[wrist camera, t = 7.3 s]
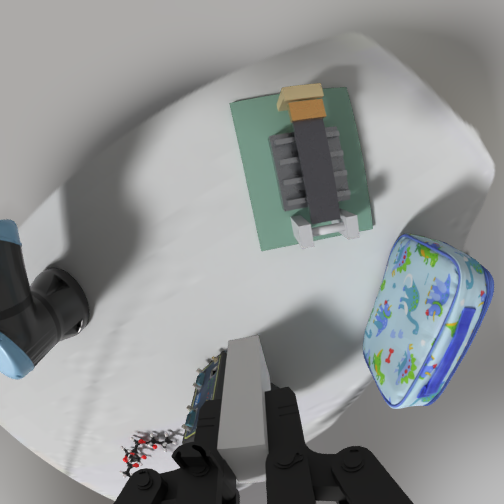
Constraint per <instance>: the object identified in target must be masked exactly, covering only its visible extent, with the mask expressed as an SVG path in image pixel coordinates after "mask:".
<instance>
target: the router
mask: <svg viewBox="0 0 504 504" xmlns="http://www.w3.org/2000/svg"><path fill="white" fill-rule="evenodd" d="M212 359H213V361H212V362H211V363H210V364H209V365H208V366H206V367H205V368H204V369H203V370H201V369H199V368H198V369H197V372H198V373H199V375H198V376H197V380H196V383H194V384H193V386H194V387H195V392H194V396H193V400H192V404H191V406H190V405H188V406H187V409H188V410H189V411H190V412H189V414H188V415H187V419H186V423H185V424H183V425H182V428H184V429H185V433H184V437H183V441H182V443H183V444H185V443H189V442H194V437H195V432H196V428H197V421H198V415H199V410H200V408H201V407H202V405H203V404H204V402H205V401H207V400H216V399H222V396H223V386H224V377H225V368H226V359H227V353H225V352H224V351H223V352H222V353H221V354H220V355H219V356H217V357H214V356H213V357H212ZM270 386H271V390H275V389H280V388H278V387H277V386H275V385H274V384H272V383H270Z"/></svg>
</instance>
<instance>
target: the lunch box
mask: <svg viewBox="0 0 504 504" xmlns="http://www.w3.org/2000/svg"><path fill="white" fill-rule="evenodd" d="M493 292H494V280H493V278H492V276H491V274H490V272H489V271H488V270H487V269H485V268H484V267H483V266H482V265H481V264H479V262H477V261H476V260H475V259H473V258H472V257H470V256H469V255H467V254H465V253H464V252H462V251H460V250H458V249H456V248H454V247H452V246H450V245H449V244H447V243H445V242H441V241H438V240H434V239H429V238H426V237H423V236H417V235H413V234H403V235H401V236H400V237H399V238H398V240H397V241H396V242H395V244H394V246H393V248H392V250H391V252H390V256H389V259H388V263H387V267H386V270H385V274H384V278H383V281H382V284H381V288H380V291H379V294H378V296H377V298H376V301H375V305H374V308H373V310H372V313H371V315H370V318H369V321H368V324H367V326H366V330H365V335H364V341H363V355H364V358H365V361H366V363H367V366H368V368H369V370H370V372H371V374H372V376H373V378H374V380H375V382H376V384H377V387H378V389H379V391H380V392H381V394H382V396H383V398H384V400H385V401H386V402H387V404H388V405H389V406H390V407H392V408H395V409H399V408H404V407H409V406H421V405H423V406H428V405H430V404H432V403H433V402H435V401H436V400H437V399H438V398H439V396H440V395H441V394H442V393H443V391H444V389H445V388H446V386H447V385H448V383H449V381H450V379H451V378H452V376H453V374H454V373H455V371H456V369H457V368H458V366H459V364H460V363H461V361H462V359H463V357H464V356H465V354H466V352H467V351H468V349H469V347H470V345H471V343H472V341H473V339H474V337H475V335H476V333H477V331H478V329H479V327H480V325H481V323H482V320H483V318H484V316H485V314H486V312H487V310H488V307H489V305H490V303H491V300H492V296H493Z"/></svg>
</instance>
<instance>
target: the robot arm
mask: <svg viewBox="0 0 504 504" xmlns="http://www.w3.org/2000/svg"><path fill="white" fill-rule="evenodd" d="M21 247H22V243H21V242H20V238H19V233H18V228H17V225H16V224H15V222H14V221H12V220H8V219H7V220H0V372H1V373H3V374H4V375H6V376H8V377H10V378H12V379H21V378H23V377H24V376H26V375H27V374H28V373H29V372H30V371H32V370H33V369H34V367H35V366H36V365H37V364H38V363H39V362H40V360H41V359H42V358H43V357H44V356H45V355H46V354H47V353H48V352H49V351H50V350H51V349H52V348H53V347H54V346H55V345H56V344H57V343H58V342H59V341H62V340H64V339H67V338H70V337H73V336H75V335H77V334H79V333H80V332H81V331H82V330H83V329H84V328H85V326H86V325H87V322H88V319H89V308H88V303H87V300H86V297H85V295H84V292H83V291H82V289H81V287H80V286H79V284H78V283H77V282H76V281H75V279H74V278H73V277H72V276H70V275H69V274H68V273H66V272H65V271H63V270H61V269H57V268H50V269H47V270H45V271H43V272H42V273H40V274H39V275H38V276H37V277H36V278H35V280H34V281H33V283H32V284H31V286H29V282H28V278H27V273H26V269H25V264H24V259H23V254H22V249H21ZM172 458H173V459H174V461H175V462H176V463H177V464H178V465H179V466H180V468H179V469H177V470H174V471H169V472H165V473H161V474H159V473H158V472H157V471H155V470H153V469H147V468H145V469H140V470H138V471H136V472H134V473H133V475H132V476H131V477H130V478H129V480H128V481H127V483H126V485H125V486H124V488H123V490H122V491H121V493H120V494H119V496H118V498H117V499H116V501H115V502H114V504H240V495H239V491H238V490H237V489H236V479H237V480H238V482H239V483H240V484H242V483H253V482H262V481H266V489H267V504H316V500H317V501H336V503H337V504H413V502H412V501H411V500H410V499H409V498H408V496H407V495H406V494H405V493H404V492H403V490H402V489H401V488H400V487H399V485H398V484H397V483H396V482H395V481H394V479H393V478H392V477H391V476H390V474H389V473H388V472H387V471H386V470H385V468H384V467H383V466H382V465H381V463H380V462H379V461H378V460H377V458H376V457H375V456H374V455H373V453H372V452H371V451H369V450H368V449H367V448H364V447H360V446H351V447H348V448H345V449H343V450H341V451H340V452H338V453H337V454H321V453H316V452H313V451H312V450H310V449H309V448H308V447H307V446H306V444H305V440H304V435H303V430H302V425H301V419H300V414H299V410H298V405H297V400H296V396H295V393H294V392H293V391H292V390H291V389H290V388H289V387H285V388H280V389H275V390H271V386H270V376H269V372H268V368H267V365H266V361H265V357H264V354H263V350H262V347H261V343H260V339H259V335H256V336H251V337H246V338H240V339H235V340H230V341H228V350H227V359H226V368H225V377H224V386H223V396H222V399H216V400H207V401H205V402H204V404H203V405H202V407H201V408H200V410H199V415H198V421H197V428H196V432H195V437H194V442H189V443H185V444H183V445H181V446H179V447H178V448H177V449H176V450H175V451H174V452H173V454H172Z"/></svg>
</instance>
